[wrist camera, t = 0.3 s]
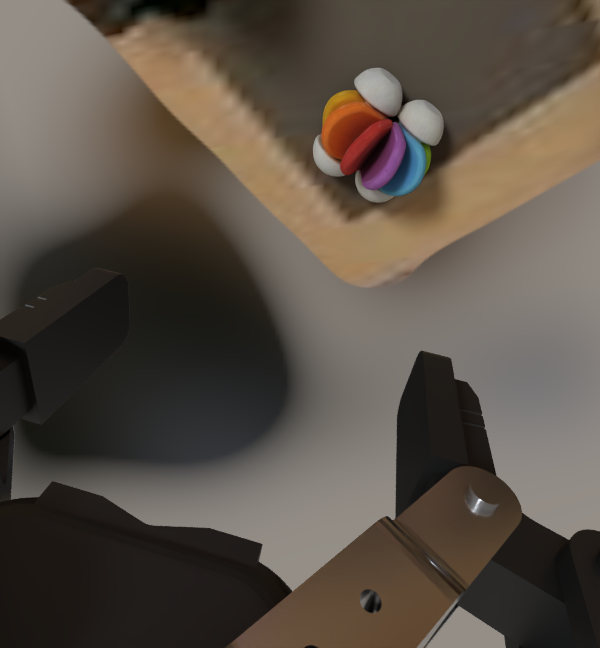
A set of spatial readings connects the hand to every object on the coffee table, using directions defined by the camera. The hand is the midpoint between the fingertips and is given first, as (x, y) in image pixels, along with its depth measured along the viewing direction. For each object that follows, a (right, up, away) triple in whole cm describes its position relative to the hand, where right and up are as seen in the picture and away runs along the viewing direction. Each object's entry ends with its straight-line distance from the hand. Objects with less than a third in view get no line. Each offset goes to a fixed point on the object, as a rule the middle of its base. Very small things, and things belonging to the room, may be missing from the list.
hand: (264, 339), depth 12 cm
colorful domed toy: (+7, +17, +25) cm, 31 cm away
